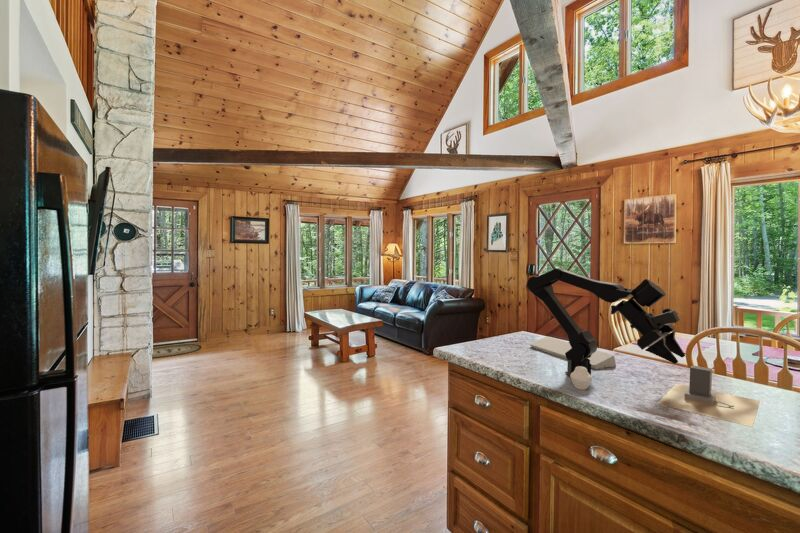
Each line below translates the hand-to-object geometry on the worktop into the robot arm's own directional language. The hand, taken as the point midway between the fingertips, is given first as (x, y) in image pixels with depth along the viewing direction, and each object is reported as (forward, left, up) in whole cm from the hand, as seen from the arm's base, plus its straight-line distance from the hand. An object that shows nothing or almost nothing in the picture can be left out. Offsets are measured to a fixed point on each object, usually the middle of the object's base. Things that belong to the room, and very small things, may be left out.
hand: (680, 359), depth 109 cm
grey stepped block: (+3, -3, -10) cm, 11 cm away
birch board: (+5, -5, -12) cm, 14 cm away
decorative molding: (-13, +46, -13) cm, 49 cm away
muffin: (-24, +9, -12) cm, 28 cm away
